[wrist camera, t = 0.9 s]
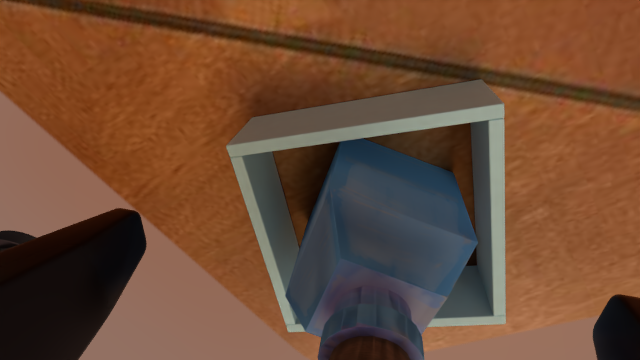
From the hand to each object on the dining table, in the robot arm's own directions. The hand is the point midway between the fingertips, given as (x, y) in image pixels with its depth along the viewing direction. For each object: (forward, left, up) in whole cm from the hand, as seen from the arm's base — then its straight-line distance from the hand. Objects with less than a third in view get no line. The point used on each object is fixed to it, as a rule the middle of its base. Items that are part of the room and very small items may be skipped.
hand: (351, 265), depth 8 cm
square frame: (-1, -6, -14) cm, 15 cm away
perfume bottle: (-1, -6, -14) cm, 15 cm away
